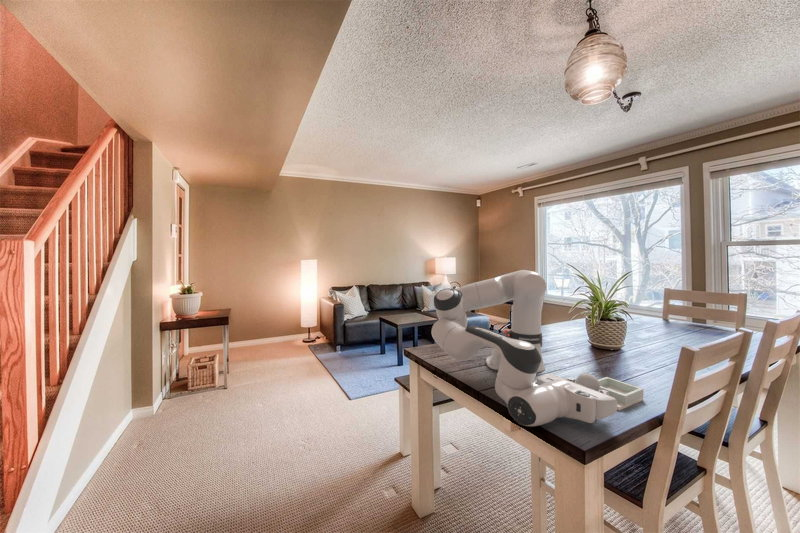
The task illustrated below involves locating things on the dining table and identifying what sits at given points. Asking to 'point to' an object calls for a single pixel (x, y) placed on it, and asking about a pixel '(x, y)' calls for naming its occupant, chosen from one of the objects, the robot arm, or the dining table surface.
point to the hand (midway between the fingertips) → (589, 387)
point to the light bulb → (588, 381)
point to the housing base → (621, 392)
